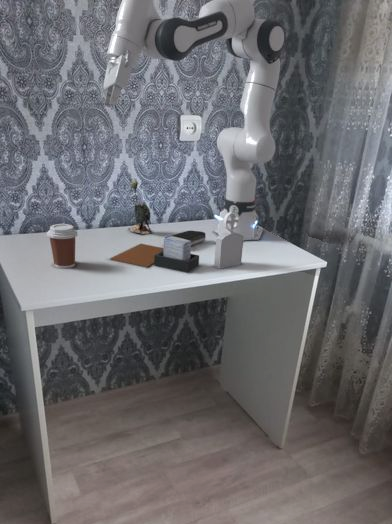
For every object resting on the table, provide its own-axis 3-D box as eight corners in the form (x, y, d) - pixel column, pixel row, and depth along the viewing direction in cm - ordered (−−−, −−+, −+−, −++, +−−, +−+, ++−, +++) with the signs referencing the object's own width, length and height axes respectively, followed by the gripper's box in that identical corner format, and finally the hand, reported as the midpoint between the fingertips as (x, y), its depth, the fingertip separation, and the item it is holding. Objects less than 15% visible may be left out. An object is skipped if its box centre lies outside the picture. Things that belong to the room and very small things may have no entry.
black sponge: (180, 251, 173) (181, 241, 172) (162, 246, 178) (162, 236, 176) (207, 242, 185) (208, 232, 183) (189, 237, 189) (190, 228, 188)
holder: (165, 258, 165) (166, 248, 164) (198, 265, 161) (199, 255, 160) (154, 265, 159) (154, 255, 157) (188, 272, 155) (188, 262, 153)
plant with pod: (137, 237, 186) (137, 182, 176) (126, 229, 194) (125, 176, 185) (156, 235, 189) (157, 181, 180) (145, 227, 198) (145, 176, 188)
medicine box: (190, 266, 160) (191, 240, 156) (182, 270, 156) (183, 243, 152) (171, 261, 163) (171, 235, 159) (162, 264, 160) (163, 238, 156)
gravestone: (240, 264, 165) (246, 209, 156) (219, 268, 160) (223, 212, 151) (235, 261, 167) (240, 208, 158) (214, 266, 162) (218, 210, 153)
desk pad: (140, 244, 178) (140, 243, 177) (175, 251, 173) (175, 250, 173) (110, 259, 161) (110, 258, 161) (147, 267, 157) (147, 266, 157)
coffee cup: (47, 261, 157) (44, 223, 151) (76, 258, 160) (73, 222, 154) (52, 270, 150) (48, 231, 144) (82, 268, 153) (80, 229, 147)
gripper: (142, 54, 131) (126, 107, 134) (126, 64, 148) (113, 112, 152) (119, 42, 128) (104, 98, 131) (106, 55, 146) (94, 103, 149)
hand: (109, 105), depth 142 cm, fingers open, 8 cm apart
